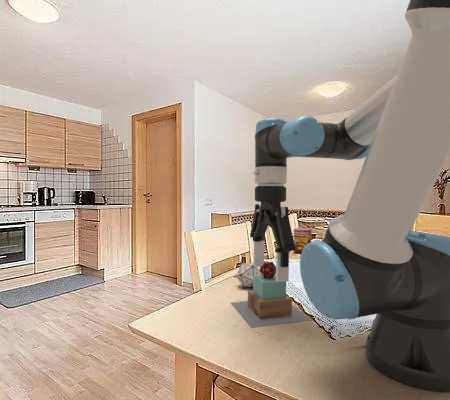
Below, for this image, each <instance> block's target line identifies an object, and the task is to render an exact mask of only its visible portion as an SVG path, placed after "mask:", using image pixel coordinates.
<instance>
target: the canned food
mask: <svg viewBox="0 0 450 400" xmlns="http://www.w3.org/2000/svg"><path fill="white" fill-rule="evenodd" d="M293 240H294V245H295V250H294V251H293V255H294V254H300V255H301V253H302V251H303V249H304V247H305V246H306V245H307V244H308V243H311V242H312V229H311V228H309V227H295V228H293Z"/></svg>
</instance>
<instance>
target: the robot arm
mask: <svg viewBox="0 0 450 400" xmlns="http://www.w3.org/2000/svg"><path fill="white" fill-rule="evenodd" d="M404 19H405V21H406V23H407V24H408V26H409V28H410V30H411V38H410V41H409V44H408V46H407V49H406V51H405V54H404V56H403V58H402V61H401V65H400V67H399V71H398V73H397V74H396V75H395V76H394V77H393V78H392V79H391V80H389V81H388V82H387V83H385V84H384V85H383V86H382V87H380V88H379V90H377V91H376V92H375V93H373V94H372V96H370V97H369V98H368V99H367V100H366V101H364V102H363V103H362V104H361V105H359V106H357V108H356V109H355V110H353V111H352V112H351V113H350V114H349V115H347V116H346V117H345V118H344V119H343V120H341V121H340V122H339V123H338V122H337V123H334V122H333V123H332V122H331V123H329V122H320V121H319V120H318V119H317V118H316V117H314V116H311V115H303V116H297V117H294V118H290V120H288V121H286V120H285V119H283V118H280V117H279V118H278V117H276V118H275V117H269V118H268V117H267V118H262V119H260V120H258V121H257V122H256V125H255V134H254V143H255V144H254V147H255V149H254V150H255V151H254V153H255V156H254V159H255V160H254V161H255V162H254V163H255V165H254V167H255V168H254V169H255V170H254V171H253V175H254V176H255V177H254V179H255V180H254V183H255V184H257V186H255V187H254V201H256V202H260V203H255V205H254V214H253V217H252V218H253V219H252V223H251V230H250V234H249V237H250V238H252V241H253V256H252V257H253V261H252V263H253V266H254V267H262V265H263V264H264V262H265V240H266V238H265V235H266V232H267V230H268V228H271V232H272V234H273V237H274V241H275V244H276V247H277V249H276V250H275V253H276V255H275V261H276V262H275V266H276V281H277V282H281V281H286V282H288V281H289V277H290V275H289V273H290V272H289V271H290V268H289V267H290V266H289V265H290V253H291V252H294V250H295V245H294V234H293V231H292V227H291V222H290V217H289V216H290V215H289V207H288V206H281V203H285V202H287V187H286V186H285V185H287V178H288V175H287V174H288V170H287V169H288V168H287V165H288V164H287V162H288V161H287V160H288V158H314V159H315V158H316V159H318V158H319V159H335V160H336V159H337V160H345V161H352V160H361V159H364V158H365V159H364V161H363V165H362V167H361V170H360V172H359V174H358V176H357V179H356V182H355V186H354V187H353V190H352V193H351V196H350V198H349V201H348V203H347V206H346V209H345V212H344V213H343V214H342V215H338V216H336V217H334V218H332V219H331V220H330V221H329V223H328V227H327V229H326V231H325V234H324V237H323V239H321V240H319V239H315V240H313V241H311V243H308V244H307V245H306V246H305V247H304V249H303V251H302V253H301V256H300V258H299V271H300V272H299V273H300V278H301V282H302V286H303V289H304V291H305V293H306V295H307V298H308V299H309V301H310V302H311V304H312V305H313V307H314V308H315V309H316V310H317V311H318V312H319V313H320V314H322V316H324V317H326V318H328V319H332V320H355V319H357V318H362V317H366V316H367V317H368V316H373V315H375V318H374V320H373V322H372V325H371V328H370V333H369V334H368V335H367V337H366V340H365V356H366V358H367V360H368V362H369V363H370V364H371V365H372V366H373V368H375V369H376V370H379V372H381V373H383V374H384V375H386V376H388V377H390V378H391V379H393V380H396V381H397V382H400V383H403V384H406V385H408V386H412V387H415V388H419V389H424V390H427V391H428V390H429V391H434V392H435V391H438V392H450V235H444V234H436V233H430V232H421V231H414V230H412V229H413V227H414V225H415V223H416V221H417V220H418V217H419V215H420V213H421V211H422V209H423V207H424V205H425V203H426V202H427V200H428V198H429V196H430V195H431V192H432V190H433V187H434V185H435V184H436V182H437V180H438V178H439V176H440V173H441V172H442V170H443V169H444V166H445V164H446V162H447V160H448V158H449V156H450V0H409V3H408V5H407V8H406V11H405V14H404Z"/></svg>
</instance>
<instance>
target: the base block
mask: <svg viewBox="0 0 450 400" xmlns="http://www.w3.org/2000/svg"><path fill="white" fill-rule="evenodd" d="M247 301H248V307H249V308H250V309H251V310H252V311H253V312H254V313H255V314H256V316H257V317H258V318H259V319H267V318H275V317H283V316H292V305H293V299H292V297H290V296H289V295H287V294H286V298H277V299H267V300H262V299H261V298H260V297H259V296H258V295H256V294H255V293H254V292H253V289H252V290H247Z"/></svg>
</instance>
